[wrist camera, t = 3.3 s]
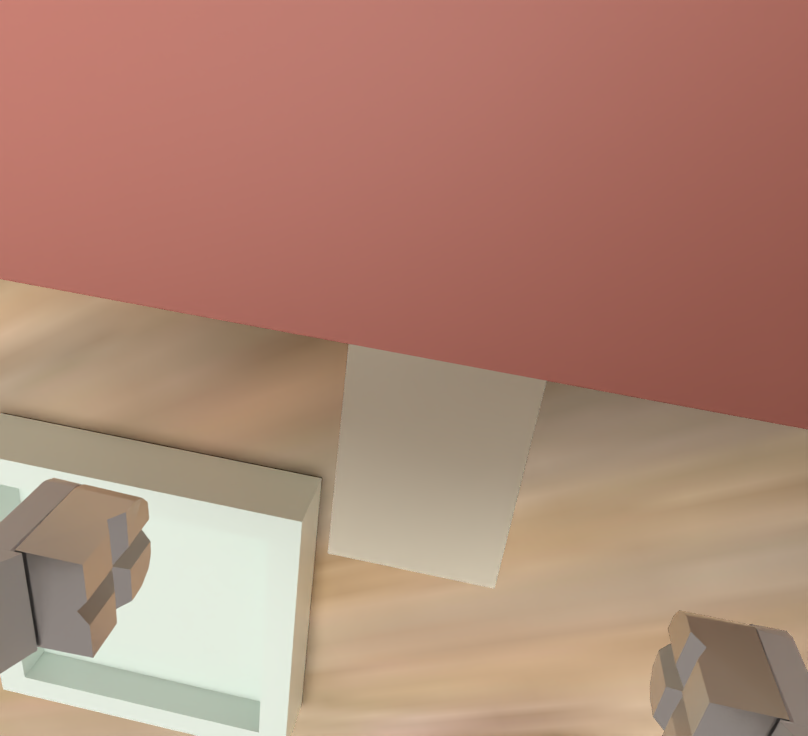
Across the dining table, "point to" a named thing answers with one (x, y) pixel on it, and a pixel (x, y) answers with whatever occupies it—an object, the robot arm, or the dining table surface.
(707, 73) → the block
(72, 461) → the dish
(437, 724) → the dining table surface
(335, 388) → the dining table surface
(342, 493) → the tall beige block
